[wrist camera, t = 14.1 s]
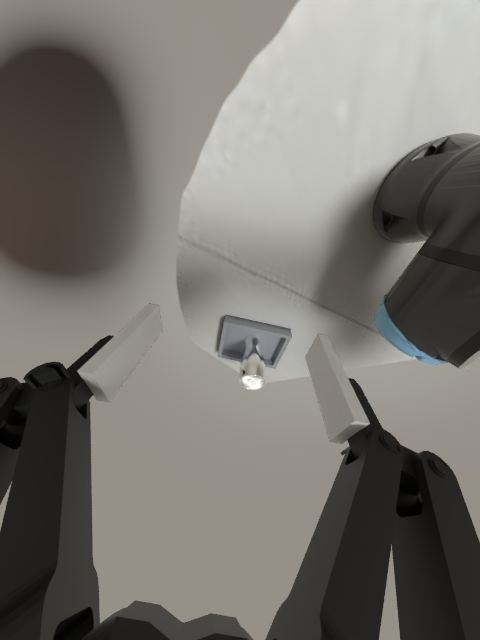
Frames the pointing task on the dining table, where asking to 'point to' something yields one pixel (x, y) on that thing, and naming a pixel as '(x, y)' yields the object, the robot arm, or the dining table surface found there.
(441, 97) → the dining table surface
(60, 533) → the robot arm
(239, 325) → the tray
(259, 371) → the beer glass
